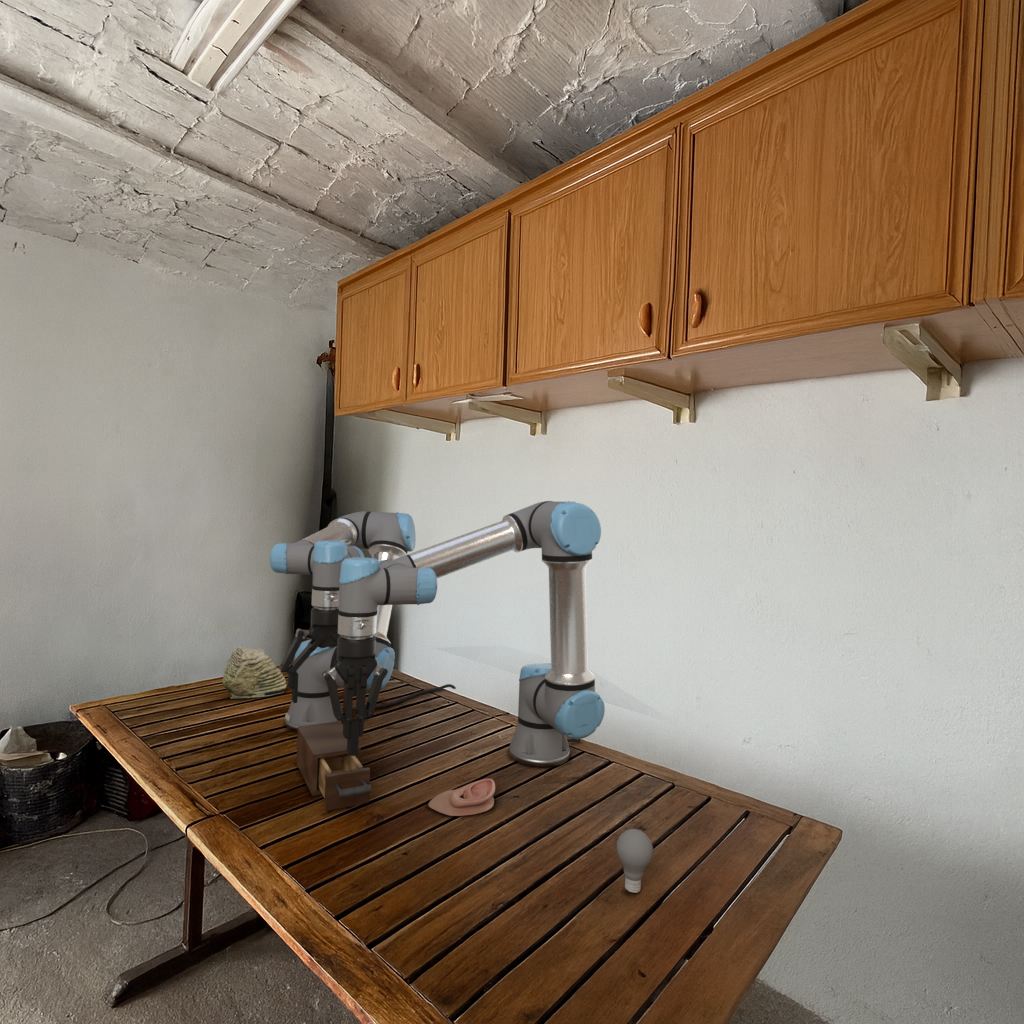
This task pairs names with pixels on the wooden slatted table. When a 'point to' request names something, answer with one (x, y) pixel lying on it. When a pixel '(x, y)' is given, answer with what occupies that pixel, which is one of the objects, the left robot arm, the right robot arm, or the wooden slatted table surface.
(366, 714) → the right robot arm
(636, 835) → the light bulb
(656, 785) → the wooden slatted table surface
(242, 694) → the fossil
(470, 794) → the anatomical model
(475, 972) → the wooden slatted table surface
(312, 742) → the cabinet
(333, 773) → the drawer
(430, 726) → the wooden slatted table surface
